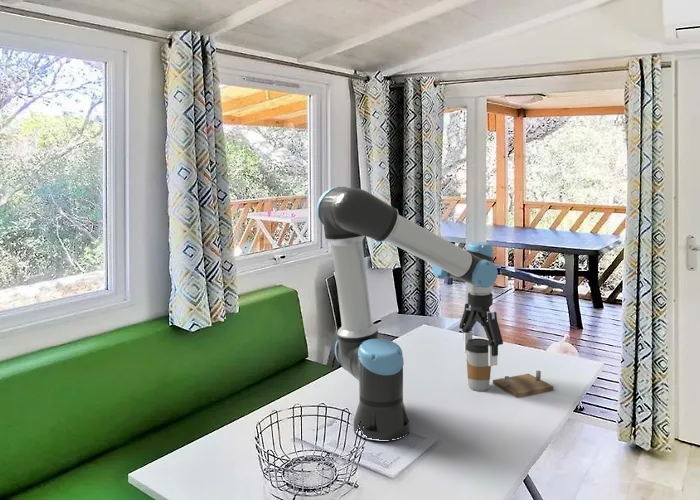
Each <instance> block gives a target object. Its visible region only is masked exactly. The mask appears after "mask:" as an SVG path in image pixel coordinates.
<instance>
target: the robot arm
mask: <svg viewBox="0 0 700 500" xmlns="http://www.w3.org/2000/svg"><path fill="white" fill-rule="evenodd" d="M316 205H317V206H316V214H317V218H318V219H319V221H320V223H321V224H322V225H323V230H324V231H323V232H324V237H325V240H326V241H327V242H329V243H330V244H331V250H332V258H333V266H334V274H335V283H336V290H337V297H338V299H337V300H338V305H339V306H338V307H339V313H340V322H341V323H340V324H341V327H339V328H338V330H337V332H336V333H337V340H336V342H335V345H334V355H335V358H336V360H337V362H338V364H339V365H340V366H341V368H342V369H344V370H345V371H346V372H348V373H349V374H350V375H351V376H353V378H355V379H356V380H357V381H358V383H359V386H358V388H359V393H358V394H359V403H358V406H357V407H356V411H355V414H354V417H353V422H352V423H353V424H352V426H353V428H354V429H353V431H355V432H356V431H357V429H358V425H359V423H360V420H361V423H360V429H359V431H361V430H362V429H363V434H364V435H366V436H367V438H372V439H379V440H392V439H397V438H400V437H403V436H405V435H406V434H407V435H408V434H409V433H410V430H411V428H410V427H411V426H410V425H411V422H410V417H409V415H408V413H407V410H406V406H405V404H404V357H403V355H404V354H403V349H402V348H401V347H400V345H399V344H398V343H396V342H394V341H392V340H389V339H388V340H387V339H385V338H379V329H378V328H379V327H378V326H377V325H376V324H375V323H374V322H372V314H371V312H372V311H371V306H370V295H369V288H368V278H367V270H366V262H365V260H366V259H365V253H364V244H363V242H364V239H365V237H367V238H370V239H372V240H374V241H377V242H379V243H382V242H387V243H389V244H391V245H393V246H395V247H397V248H399V249H401V250H403V251H405V252H407V253H409V254H411V255H413V256H414V257H415V256H416V258H419V259H421V260H423V261H425V262H427V263H429V264H431V271H432V274H433V276H434V277H435V278H437V279H440V280H442V279H445V280H447V279H454V280H457V281H460V282H464V283H467V292H468V293H467V303H464V310H463V314H462V316H461V320H460V322H459V325H458V326H459V329H460V330H462V332H463V353H465V354H467V352H466V344H467V342H468V340H470V339H473V332H472V331H473V328H474V326H475V325H476V323H479V324H480V325H481V326H482V328H483V331H484V332H485V334H486V336H487V340H489V342H490V344H489V345H488V366H491V367H493V366H497V365H498V356H499V346H501V345H503V344H504V341H503V336H502V333H501V329H500V326H499V321H498V318H497V316H498V315H497V311H491V310H490V307H491V306H492V305H493V303H494V302H493V301H494V300H493V299H494V298H493V296H494V295H493V293H492V292H493V291H494V290H493V287H494V286H493V285H494V284H495V283H496V281H497V278H498V274H499V273H498V267H497V266H496V265H495V263H494V250H493V245H492V244H491V243H489V242H484V241H476V242H475V241H474V242H469V243H468V244H467V248H466V250H465V249H464V248H462V247H460V246H458V245H456V244H454V243H452V242H451V241H449V240H447V239H445V238H443V237H441V236H439V235H437V234H435V233H434V232H432V231H430V230H428V229H426V228H425V227H422V226H420V225H419V224H418V223H415V222H413V221H412V220H409V219H407V218H406V217H404V216H402V215H400V214H399V210H398V208H395V207H394V206H391V204H389V203H387V202H385V201H383V199H380V198H378V197H377V196H375V195H374V194H372V193H371V192H369V191H367V190H365V189H362V188H357V187H356V188H355V187H347V186H337V187H336V186H335V187H331V188H329V189H327V190H326V191H325V192H323V193H322V195H321V196H320V197H319V199H318V202H317V204H316ZM363 425H364V428H363ZM355 432H354V433H355ZM408 432H409V433H408ZM407 435H406V436H407ZM406 436H405V437H406ZM403 438H404V437H403Z"/></svg>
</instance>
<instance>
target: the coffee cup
mask: <svg viewBox="0 0 700 500" xmlns="http://www.w3.org/2000/svg"><path fill="white" fill-rule="evenodd" d="M489 344H490V342H489V340H488V339H486V338H479V337H478V338H472V339H470V340H468V342H467V344H466V352H467V353H466V372H467V373H466V374H467V382H468V383H467V385H468V387H469V389H470V390H472V391H476V392H485V391H487V390H488V389H489V387H490V381H491V373H492V371H491V370H492V366H488V345H489Z"/></svg>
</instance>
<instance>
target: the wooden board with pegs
mask: <svg viewBox="0 0 700 500" xmlns="http://www.w3.org/2000/svg"><path fill="white" fill-rule="evenodd" d="M535 372H536V373H535V376H534V375H532V374H530V373H525V374H519V375H512V376H509V375H505V376H504V377H502V378H496V379H492V384H493V385H495V386H496V387H498V388H499V389H501V390H503V391H504V392H506V393H508V394H509V395H512V396H513V397H515V398H520V397H524V396H526V397H527V396H530V395H535V394H536V395H537V394H541V393H545V392H546V393H547V392H550V391H554V388H555V387H554V385H551V384H549V383H548V382H546V381H544V380H542V379H541V377H542V376H541V375H542V373H541V370H536V371H535Z"/></svg>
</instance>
